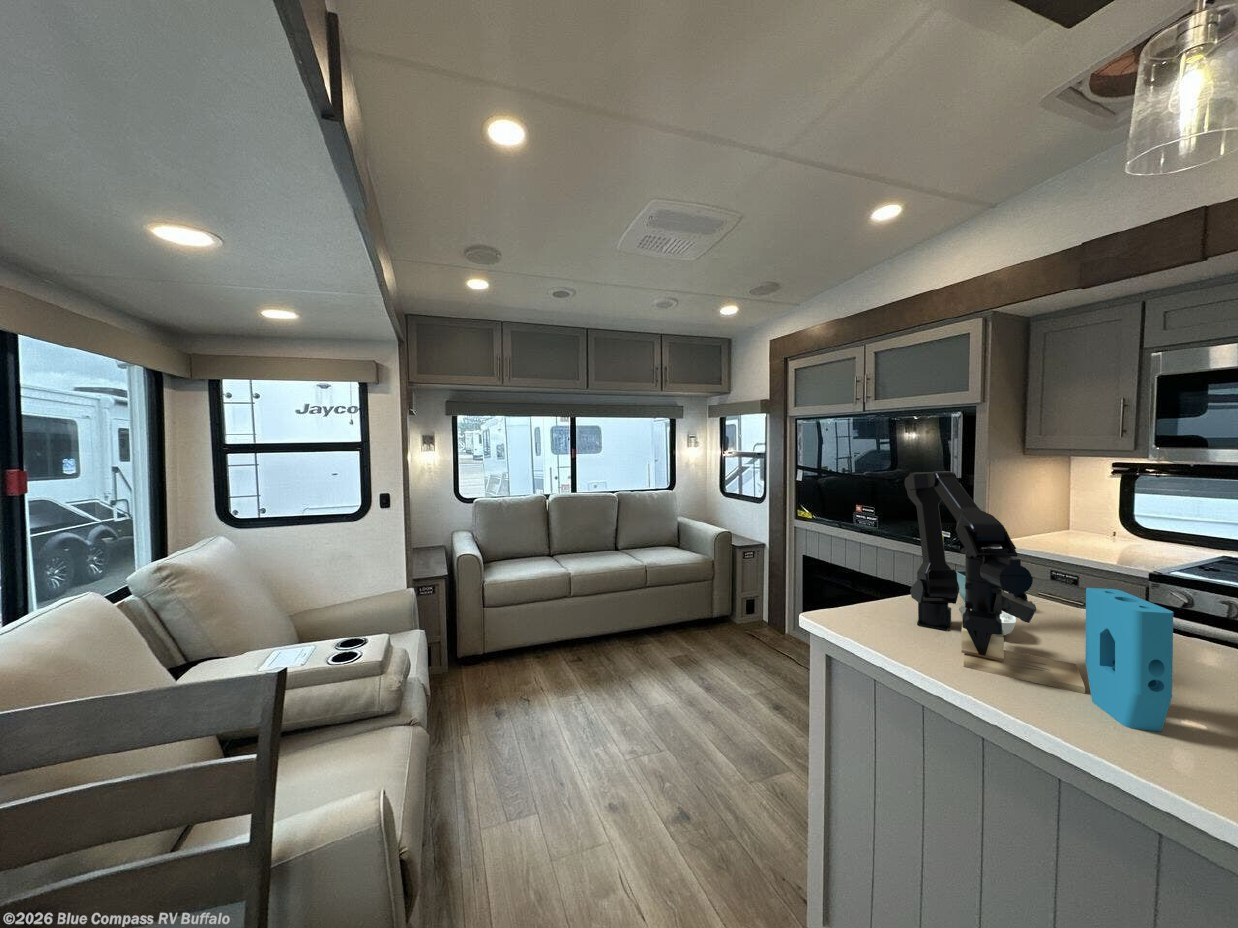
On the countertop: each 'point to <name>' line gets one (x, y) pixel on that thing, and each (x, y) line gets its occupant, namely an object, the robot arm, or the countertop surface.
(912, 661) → the countertop surface
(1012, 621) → the cell model
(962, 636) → the block
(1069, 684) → the board
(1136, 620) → the block
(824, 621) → the countertop surface
